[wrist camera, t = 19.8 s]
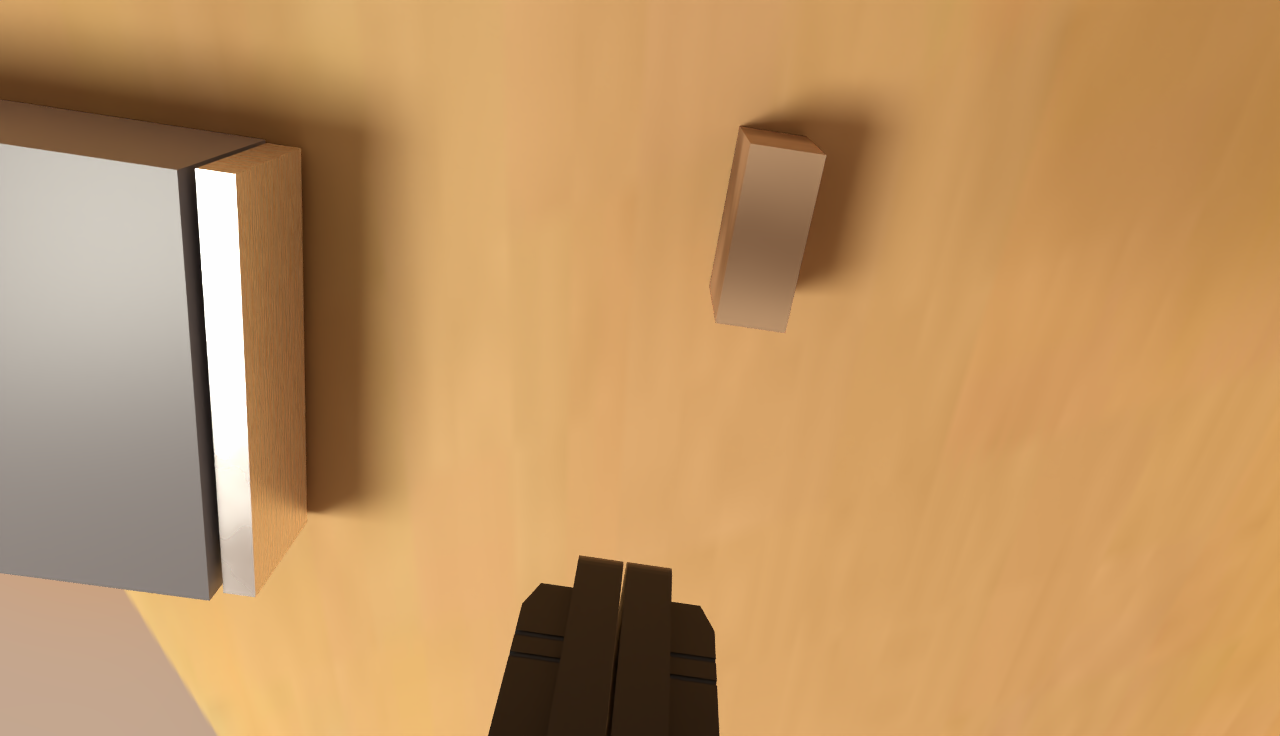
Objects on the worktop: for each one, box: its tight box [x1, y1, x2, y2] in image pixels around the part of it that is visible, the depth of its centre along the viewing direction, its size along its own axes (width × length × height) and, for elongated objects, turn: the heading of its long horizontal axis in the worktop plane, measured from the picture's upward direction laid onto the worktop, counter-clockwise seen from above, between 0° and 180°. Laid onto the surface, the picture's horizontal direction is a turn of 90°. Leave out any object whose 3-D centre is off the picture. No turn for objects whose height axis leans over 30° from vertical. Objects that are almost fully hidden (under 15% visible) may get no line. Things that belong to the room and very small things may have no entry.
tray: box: [195, 143, 307, 597], centre depth 30 cm, size 16×16×5 cm
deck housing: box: [0, 99, 266, 601], centre depth 30 cm, size 16×16×6 cm
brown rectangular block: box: [709, 126, 826, 333], centre depth 29 cm, size 6×2×4 cm, turn 171°
